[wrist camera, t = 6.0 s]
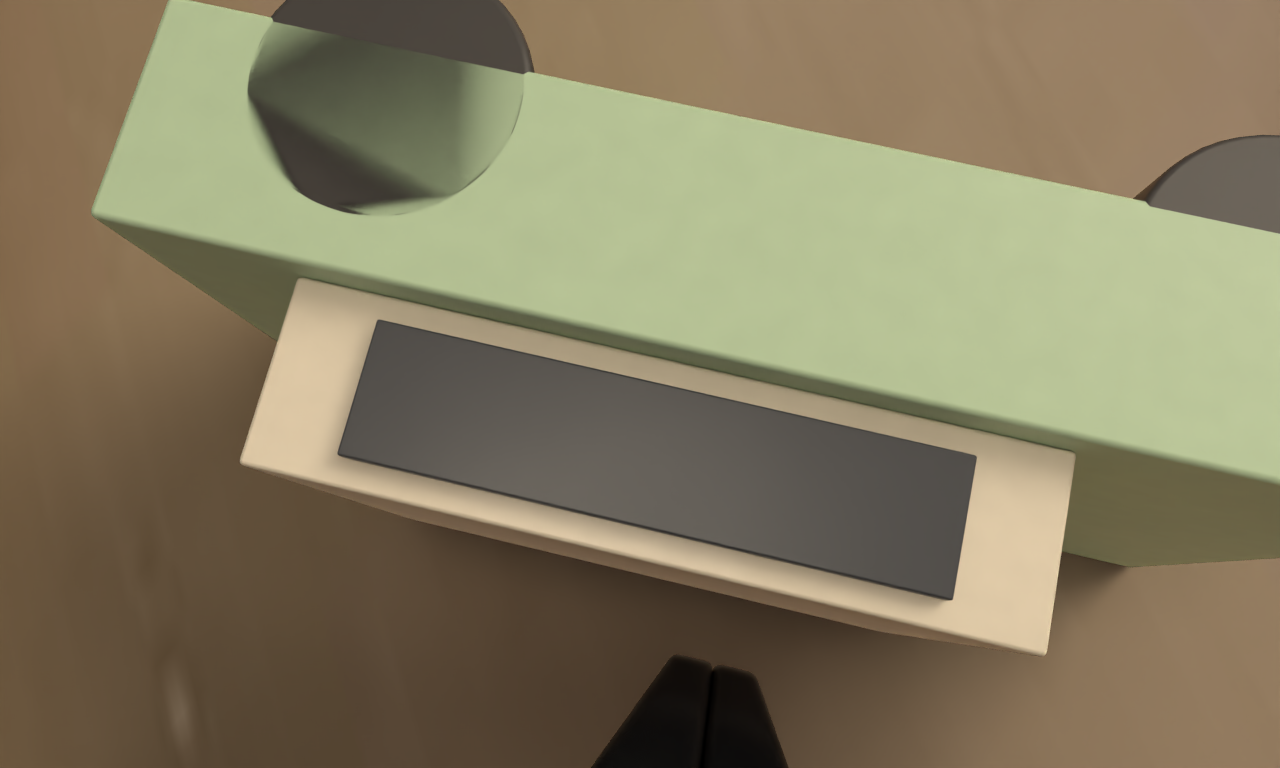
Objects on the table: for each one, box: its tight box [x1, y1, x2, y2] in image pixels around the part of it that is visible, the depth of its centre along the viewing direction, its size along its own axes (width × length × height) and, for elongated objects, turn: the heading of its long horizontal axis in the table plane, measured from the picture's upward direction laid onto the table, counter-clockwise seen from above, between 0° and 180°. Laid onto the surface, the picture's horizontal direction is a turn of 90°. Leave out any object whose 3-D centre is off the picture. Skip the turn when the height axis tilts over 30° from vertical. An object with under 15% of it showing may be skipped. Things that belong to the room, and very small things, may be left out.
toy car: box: [91, 0, 1280, 656], centre depth 14 cm, size 14×6×8 cm, turn 77°
